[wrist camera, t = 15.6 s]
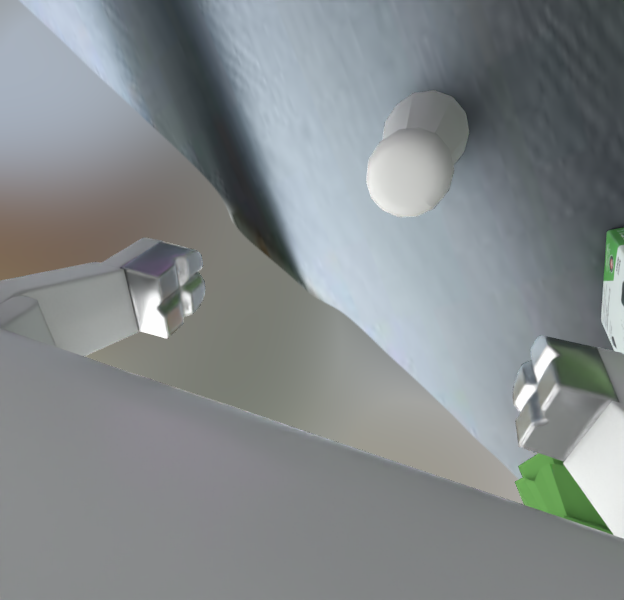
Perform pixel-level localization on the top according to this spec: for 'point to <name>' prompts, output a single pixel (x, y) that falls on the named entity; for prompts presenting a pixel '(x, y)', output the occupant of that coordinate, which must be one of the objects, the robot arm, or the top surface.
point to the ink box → (614, 289)
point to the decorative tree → (556, 492)
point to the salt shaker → (417, 154)
